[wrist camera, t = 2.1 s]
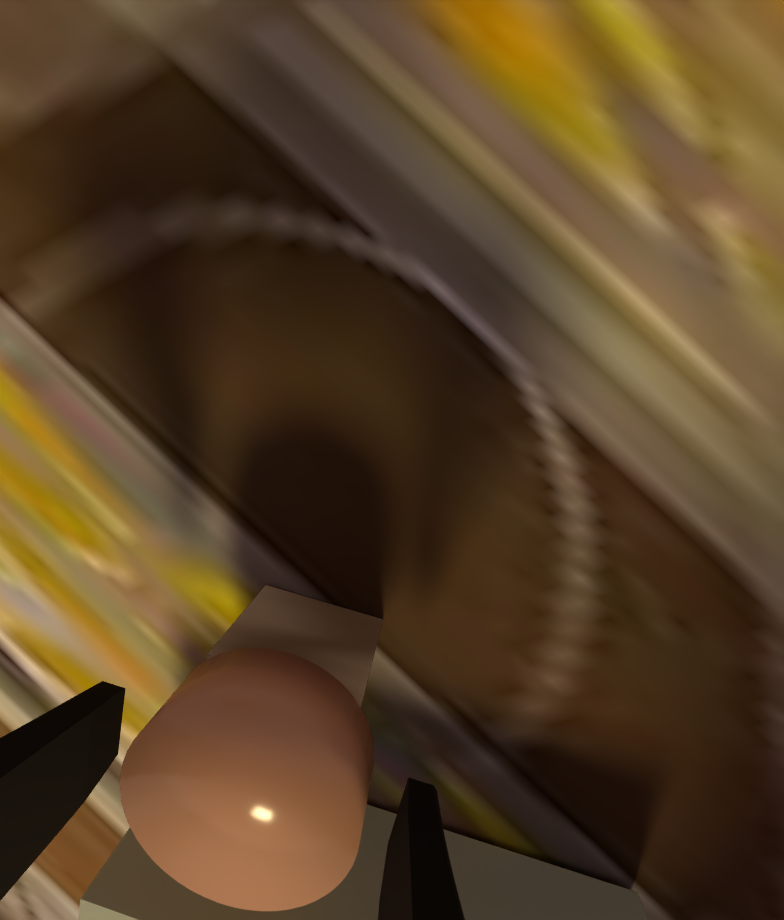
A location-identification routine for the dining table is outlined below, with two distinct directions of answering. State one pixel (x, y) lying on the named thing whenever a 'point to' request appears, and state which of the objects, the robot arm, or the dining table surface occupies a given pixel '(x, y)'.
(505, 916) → the pull-out drawer
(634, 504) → the dining table surface
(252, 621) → the block
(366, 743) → the rounded lump
